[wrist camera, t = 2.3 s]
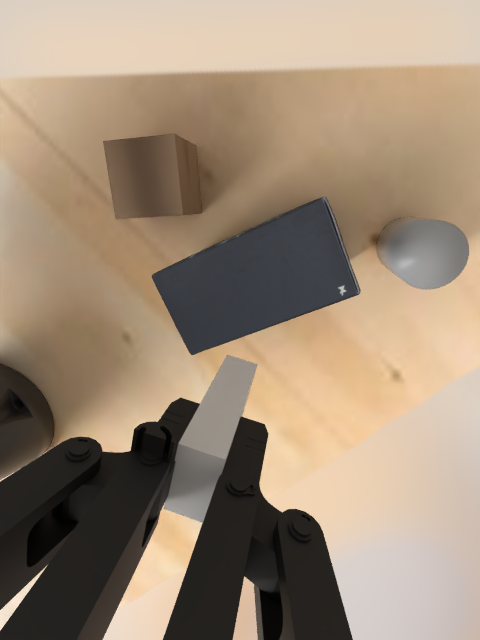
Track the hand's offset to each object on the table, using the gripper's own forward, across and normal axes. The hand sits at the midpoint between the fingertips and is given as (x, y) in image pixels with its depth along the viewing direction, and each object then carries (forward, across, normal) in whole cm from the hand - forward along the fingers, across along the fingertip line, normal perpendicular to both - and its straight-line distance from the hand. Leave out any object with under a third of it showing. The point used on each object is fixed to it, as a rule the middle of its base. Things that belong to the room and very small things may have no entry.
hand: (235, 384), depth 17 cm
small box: (+20, -2, +3) cm, 21 cm away
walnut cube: (+20, -13, +7) cm, 25 cm away
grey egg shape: (+20, +10, +7) cm, 24 cm away
